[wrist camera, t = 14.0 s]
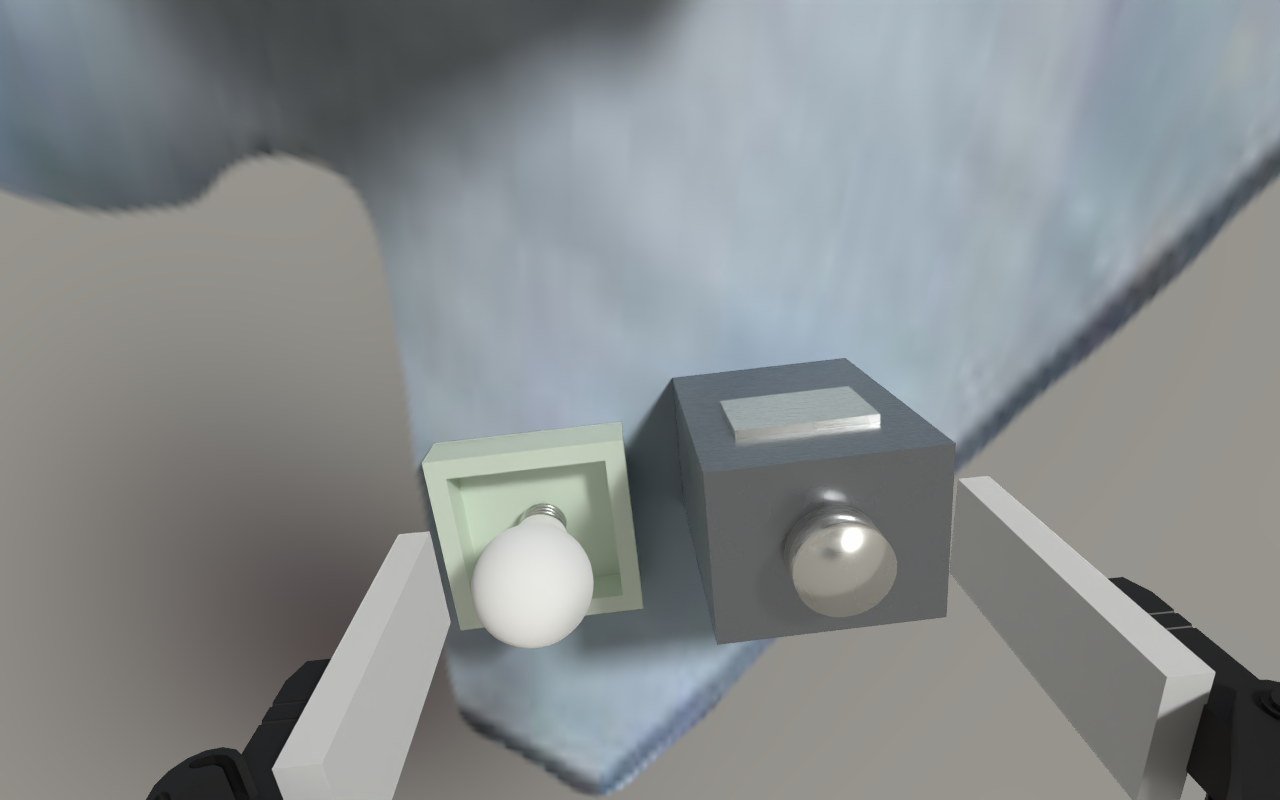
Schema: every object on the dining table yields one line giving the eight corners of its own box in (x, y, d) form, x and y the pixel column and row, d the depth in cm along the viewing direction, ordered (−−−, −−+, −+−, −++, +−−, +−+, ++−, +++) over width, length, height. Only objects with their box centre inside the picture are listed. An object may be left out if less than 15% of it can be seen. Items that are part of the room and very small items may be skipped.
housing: (671, 372, 42) (709, 485, 27) (845, 352, 42) (980, 453, 27) (684, 505, 45) (724, 674, 30) (846, 486, 45) (967, 645, 30)
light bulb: (576, 571, 45) (568, 689, 35) (481, 544, 44) (444, 658, 34) (609, 487, 44) (610, 587, 33) (510, 457, 43) (480, 550, 32)
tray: (434, 443, 43) (421, 463, 40) (621, 421, 43) (622, 439, 40) (469, 601, 47) (460, 630, 44) (640, 581, 47) (643, 608, 44)
